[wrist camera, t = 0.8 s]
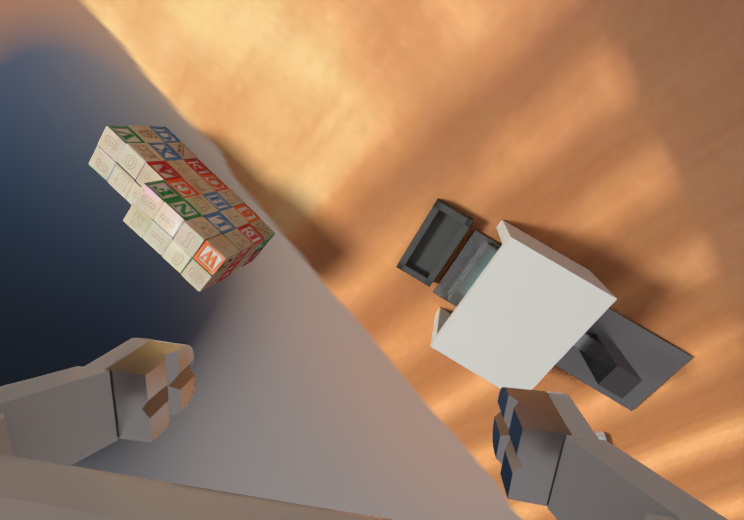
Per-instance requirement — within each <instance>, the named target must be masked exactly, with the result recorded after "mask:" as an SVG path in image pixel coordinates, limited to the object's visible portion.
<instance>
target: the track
mask: <svg viewBox="0 0 744 520" xmlns="http://www.w3.org/2000/svg"><path fill="white" fill-rule="evenodd" d="M487 242H488V243H489V244H491V245H493V246H494V247H496V248H498V249H499V248H500V247H501V246H502V245H501V244H499V243H497V242H495V241H494V240H492V239H490V238H489V237H487V236H485V235H483V234H482V233H480V232H478V231H477V230H475V231H474V232H473V234H472V235H471V237H470V238H469V240H468V241H467V243H466V244H465V245H464V247H463V248H462V250H461V251H460V253H459V254H458V256H457V257H456V259H455V260H454V262H453V263H452V265H451V266H450V267H449V269H448V270H447V272H446V273H445V275H444V276H443V278H442V279H441V281H440V282H439V284H438V285H437V287H436V288H435V289H434V291H433V293H435V294H436V295H438V296H440V297H441V298H443V299H445V300H446V301H448V297H449V295H450V294H451V293H452V291H453V290H454V288H455V287H456V286H457V284H458V283H459V281H460V280H461V278H462V277H463V276H464V274H465V273H466V271H467V270H468V269H469V267H470V266H471V264H472V263H473V261H474V260H475V259H476V257H477V256H478V254H479V253H480V252H481V250H482V249H483V247H484V246H485V245H486V243H487ZM586 333H587V334H589V335H591V336H593V335H594V334H595V333H596V334H597V335H599V336H601V337H602V338H604V339H606V340H607V341H609V342H611V343H612V344H614V345H616V346H617V347H618V348H619V350H620V351H621V352H622V354H623V355H624V356H625V358H626V359H627V360H628V362H629V363H630V364H631V366H632V367H633V369H634V370H635V371H636V373H637V374H638V375H639V377H640V378H641V379H642V381H641V382H640V383H639V384H638V385H637V386H636V387H635V388H634V389H633V390H632V391H630V392H629V393H628V394H627V395H626V396H625V397H624V398H623V399H621V398H620V397H618V396H616V395H615V394H613V393H611V392H610V391H608V390H606V389H605V388H603V387H601V386H599V385H598V384H597V382H596V380H595V378H594V376H593V375H592V373H591V371H590V369H589V367H588V366H587V364H586V362H585V360H584V358H583V357H582V355H581V353H580V351H579V350H580V349H578V348H576V347H575V346H572V347H571V348H570V349H569V351H568V352H567V353H566V354H565V355H564V356H563V357H562V358H561V359H560V360H559V361H558V362H557V363H556V364H555V366H557V367H559V368H560V369H562V370H564V371H566V372H567V373H569V374H571V375H572V376H574V377H576V378H577V379H579V380H581V381H582V382H584V383H586V384H587V385H589V386H591V387H592V388H594V389H596V390H597V391H599V392H601V393H602V394H604V395H606V396H607V397H609V398H611V399H612V400H614V401H616V402H617V403H619V404H621V405H622V406H624V407H626V408H628V409H629V410H631V411H632V410H633V409H634V408H636V407H637V406H638V405H639V404H640V403H641V402H642V401H644V400H645V399H646V398H647V397H648V396H649V395H650V394H652V393H653V392H654V391H655V390H656V389H657V388H658V387H660V386H661V385H662V384H663V383H664V382H665V381H666V380H668V379H669V378H670V377H671V376H672V375H673V374H674V373H676V372H677V371H678V370H679V369H680V368H681V367H682V366H683V365H685V364H686V363H687V362H688V361H689V360H690V359H691V358H693V357H692V356H691V355H689V354H687V353H685V352H684V351H682V350H680V349H679V348H677V347H675V346H673V345H672V344H670V343H668V342H667V341H665V340H663V339H661V338H660V337H658V336H656V335H655V334H653V333H651V332H649V331H648V330H646V329H644V328H643V327H641V326H639V325H637V324H636V323H634V322H632V321H631V320H629V319H627V318H626V317H624V316H622V315H620V314H619V313H617V312H615V311H614V310H612V309H610V308H608V309H607V310H606V311H605V312H604V313H603V315H602V316H601V317H600V318H599V319H598V320H597V321H596V322H595V323H594V324H593V325H592V326H591V327H590V328H589V329H588V330H587V331H586Z"/></svg>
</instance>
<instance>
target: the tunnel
mask: <svg viewBox="0 0 744 520" xmlns="http://www.w3.org/2000/svg"><path fill="white" fill-rule="evenodd" d="M497 231H498V233H499V236H500V239H501V241H502V246H501V247H500V248H499V250H498V251H497V252H496V254H495V255H494V256H493V258H492V259H491V261H490V262H489V263H488V265H487V266H486V267H485V269H484V270H483V272H482V273H481V274H480V276H479V277H478V278H477V280H476V281H475V283H474V284H473V285H472V287H471V288H470V289H469V291H468V292H467V294H466V295H465V296H464V298H463V299H462V300H461V302H460V303H459V304H458V306H457V307H456V309H455V310H454V311H453V313H452V314H451V313H449V312H447V311H445V310H444V309H442V308H439V310H438V311H437V312H436V314H435V321H434V327H433V334H432V340H431V347H432V348H434V349H436V350H437V351H439V352H441V353H442V354H444V355H446V356H447V357H449V358H451V359H452V360H454V361H456V362H457V363H459V364H461V365H462V366H464V367H465V368H467V369H469V370H470V371H472V372H474V373H475V374H477V375H479V376H480V377H482V378H484V379H485V380H487V381H489V382H490V383H492V384H494V385H495V386H497V387H499V388H500V389H501V388H502V387H508V388H518V389H527V390H532V389H533V388H534V387H535V386H536V384H537V383H538V382H539V381H540V380H541V379H542V378H543V377H544V376H545V375H546V374H547V373H548V372H549V371H550V370H551V369H552V368H553V366H554V365H555V364H556V363H557V362H558V361H559V360H560V359H561V358H562V357H563V356H564V355H565V354H566V353H567V352H568V351H569V349H570V348H571V347H572V346H573V345H574V344H575V343H576V342H577V341H578V340H579V339H580V338H581V337H582V336H583V335H584V334H585V333H586V331H587V330H588V329H589V328H590V327H591V326H592V325H593V324H594V323H595V322H596V321H597V320H598V319H599V318H600V317H601V316H602V315H603V313H604V312H605V311H606V310H607V309H608V308H609V307H610V306H611V305H612V304H613V303H614V302H615V301H616V300H617V298H616V297H615V296H614V295H613V294H612V293H611V292H610V291H609V290H608V289H607V288H606V287H605V286H604V285H603V284H602V283H601V282H600V281H599V280H598V279H597V278H596V277H595V276H594V274H593V273H592V272H591V271H590V270H588V269H586V268H585V267H583V266H581V265H580V264H578V263H576V262H574V261H573V260H571V259H569V258H568V257H566V256H564V255H562V254H561V253H559V252H557V251H555V250H554V249H552V248H550V247H549V246H547V245H545V244H543V243H542V242H540V241H538V240H537V239H535V238H533V237H531V236H530V235H528V234H526V233H524V232H523V231H521V230H519V229H518V228H516V227H514V226H512V225H511V224H509V223H507V222H506V221H504V220H501V222H500V223H499V225H498V226H497Z"/></svg>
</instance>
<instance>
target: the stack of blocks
mask: <svg viewBox="0 0 744 520" xmlns="http://www.w3.org/2000/svg"><path fill="white" fill-rule="evenodd" d="M89 165H90V166H91V167H92V168H93V169H94V170H95V171H97V172H98V173H99V174H100V175H101V176H102V177H103V178H104V179H106V180H107V182H108V183H109V184H110V185H111V186H112V187H113V188H114V189H115V190H116V191H117V192H119V193H120V194H121V195H122V196H123V197H124V198H126V200H127V201H128V202H129V203H130V204H131V205H132V206H131V208H130V210H129V211H128V213H127V215H126V216H125V218H124V219H123V221H124V222H125V223H126V224H127V225H128V226H129V227H130V228H132V229H133V230H134V231H135V232H136V233H137V234H138V235H139V236H140V237H142V238H143V239H144V240H145V241H146V242H147V243H148V244H149V245H151V247H153V248H154V249H155V250H156V251H157V252H158V253H159V254H161V255H162V257H163V258H164V259H165V260H166V261H167V262H169V263H170V264H171V265H172V266H173V267H174V268H175V269H176V270H177V271H178V272H179V273H181V275H182V276H183V277H184V278H185V279H186V280H187V281H188V282H189V283H190V284H191V285H192V286H193V287H195V288H196V289H197V290H198V291H202V290H203V289H205V288H207V287H208V286H210V285H212V284H213V283H217V282H219V281H221V280H222V279H223V278H225V277H227V276H229V275H230V274H231V273H233V272H234V271H236V270H238V269H239V268H240V267H243V266H244V265H246V264H248V263H249V262H251V261H252V260H253V259H254V258H255V257H256V256H257V255H258V254H259V252H260V251H261V250H262V249H263V247H264V246H265V245H266V244H267V243H268V241H269V240H270V239H271V238H272V237H273V236H274V234H275V233H274V232H273V231H272V230H271V229H270V228H269V227H268V226H267V225H266V224H265V223H264V222H263V221H262V220H261V219H260V218H259V216H258V215H257V214H256V213H255V212H254V211H253V210H251V209H250V208H249V207H248V206H247V205H246V204H245V203H244V202H243V201H242V200H241V199H240V198H239V197H238V196H237V195H236V194H235V193H234V192H233V191H232V190H231V189H229V188H228V187H227V186H226V185H225V184H224V183H223V182H222V181H221V180H220V179H219V178H218V177H216V175H214V174H213V173H212V172H211V171H210V170H209V169H208V168H207V167H206V166H205V165H204V164H203V163H202V162H201V161H200V160H198V159H197V157H196V156H195V155H194V154H193V153H192V152H191V151H190V150H189V149H188V148H187V147H186V146H185V145H184V144H183V143H182V142H180V140H179V139H178V138H177V137H176V136H175V135H173V134H172V133H171V132H170V131H169V130H168V129H167V128H166V127H155V126H135V125H131V126H107V127H106V128H105V131H104V132H103V134H102V137H101V138H100V141H99V143H98V146H97V148H96V150H95V152H94V154H93V156H92V158H91V160H90V162H89Z"/></svg>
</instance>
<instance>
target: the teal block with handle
mask: <svg viewBox="0 0 744 520" xmlns="http://www.w3.org/2000/svg"><path fill="white" fill-rule="evenodd" d="M498 250H499V249H498V248H496V247H494V246H493V245H491V244H489V243H488V242H487V243H486V245H485V246H484V247H483V249H482V250H481V252H480V253H479V254H478V256H477V257H476V259H475V260H474V261H473V263H472V264H471V266H470V267H469V269H468V270H467V271H466V273H465V274H464V276H463V277H462V278H461V280H460V281H459V283H458V284H457V286H456V287H455V288H454V290H453V291H452V293H451V294H450V295H449V297H448V302H450V303H451V304H453V305H455V306H456V307H457V306H458V304H459V303H460V302H461V300H462V299H463V298H464V296H465V295H466V294H467V292H468V291H469V289H470V288H471V287H472V285H473V284H474V283H475V281H476V280H477V278H478V277H479V276H480V274H481V273H482V272H483V270H484V269H485V267H486V266H487V265H488V263H489V262H490V261H491V259H492V258H493V256H494V255H495V254H496V252H497V251H498ZM573 346H575V347H576V348H578V349H580V350H579V351H580V353H581V355H582V357H583V358H584V360H585V362H586V364H587V366H588V367H589V369H590V371H591V373H592V375H593V376H594V378H595V380H596V382H597V384H598V385H599V386H601V387H603V388H605V389H606V390H608V391H610V392H611V393H613V394H615V395H616V396H618V397H620V398H621V399H623V398H624V397H625V396H626V395H627V394H628V393H629V392H630V391H632V390H633V389H634V388H635V387H636V386H637V385H638V384H639V383H640V382H641V381H642V379H641V378H640V377H639V375H638V374H637V373H636V371H635V370H634V369H633V367H632V366H631V364H630V363H629V362H628V360H627V359H626V358H625V356H624V355H623V354H622V352H621V351H620V350H619V348H618V347H617V346H616V345H614V344H612V343H611V342H609V341H607V340H606V339H604V338H602V337H601V336H599V335H597V334H596V333H595V334H594V335H593V336H591V335H589V334H587V333H585V334H584V335H583V336H582V337H581V338H580V339H579V340H578V341H577V342H576V343H575V344H574V345H573Z"/></svg>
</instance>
